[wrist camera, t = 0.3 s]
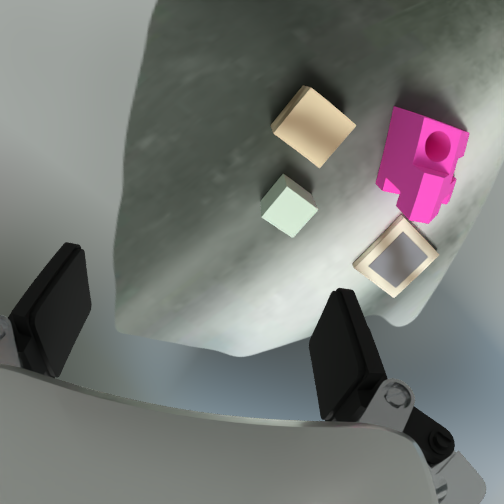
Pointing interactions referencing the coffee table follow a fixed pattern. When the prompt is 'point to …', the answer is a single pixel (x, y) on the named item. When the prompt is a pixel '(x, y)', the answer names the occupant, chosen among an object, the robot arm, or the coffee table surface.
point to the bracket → (420, 163)
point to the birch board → (396, 257)
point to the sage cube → (288, 206)
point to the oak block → (312, 125)
